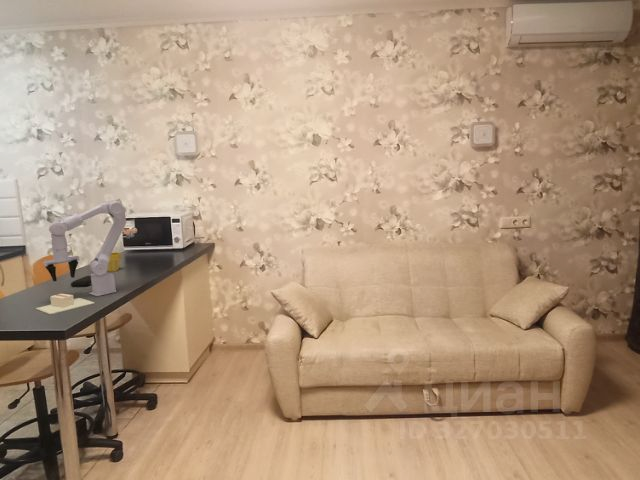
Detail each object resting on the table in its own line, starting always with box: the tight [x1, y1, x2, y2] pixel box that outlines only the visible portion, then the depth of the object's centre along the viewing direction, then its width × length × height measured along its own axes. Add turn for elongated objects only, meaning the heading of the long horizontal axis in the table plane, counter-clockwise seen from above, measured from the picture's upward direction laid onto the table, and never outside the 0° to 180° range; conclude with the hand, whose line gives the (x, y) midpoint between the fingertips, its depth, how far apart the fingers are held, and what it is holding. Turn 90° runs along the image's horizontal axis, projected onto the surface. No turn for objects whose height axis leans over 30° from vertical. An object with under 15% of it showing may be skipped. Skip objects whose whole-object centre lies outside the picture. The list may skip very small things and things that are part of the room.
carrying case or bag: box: [70, 275, 92, 288], centre depth 238 cm, size 11×3×15 cm
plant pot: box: [107, 251, 122, 273], centre depth 267 cm, size 10×10×10 cm
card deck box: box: [49, 293, 75, 308], centre depth 199 cm, size 8×5×4 cm, turn 63°
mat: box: [35, 297, 95, 316], centre depth 198 cm, size 18×14×1 cm
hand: (63, 279), depth 208 cm, fingers open, 7 cm apart
